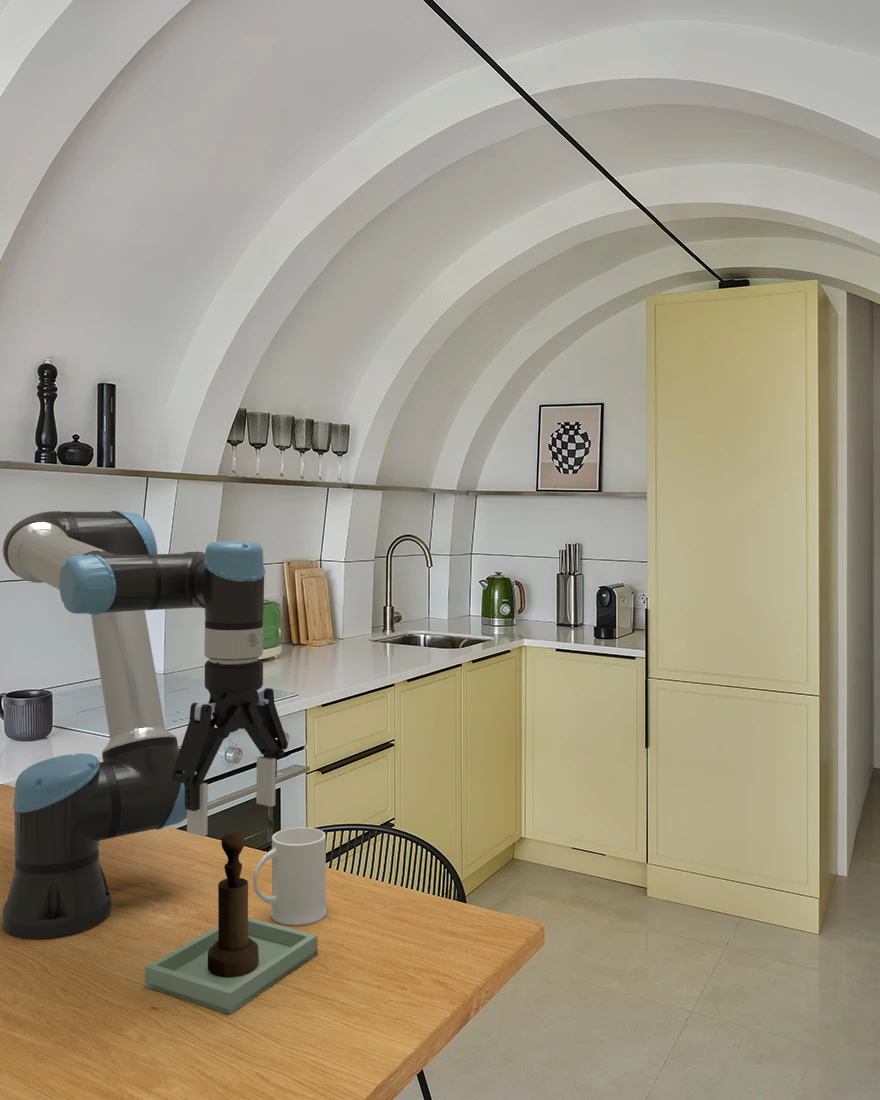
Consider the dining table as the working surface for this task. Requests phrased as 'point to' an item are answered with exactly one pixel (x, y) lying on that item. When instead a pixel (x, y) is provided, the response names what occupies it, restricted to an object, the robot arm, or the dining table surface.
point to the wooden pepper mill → (233, 917)
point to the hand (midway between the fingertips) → (233, 818)
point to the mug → (296, 876)
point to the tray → (194, 982)
